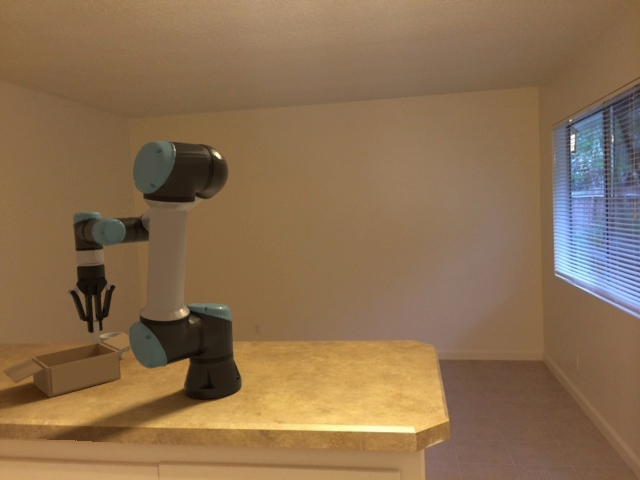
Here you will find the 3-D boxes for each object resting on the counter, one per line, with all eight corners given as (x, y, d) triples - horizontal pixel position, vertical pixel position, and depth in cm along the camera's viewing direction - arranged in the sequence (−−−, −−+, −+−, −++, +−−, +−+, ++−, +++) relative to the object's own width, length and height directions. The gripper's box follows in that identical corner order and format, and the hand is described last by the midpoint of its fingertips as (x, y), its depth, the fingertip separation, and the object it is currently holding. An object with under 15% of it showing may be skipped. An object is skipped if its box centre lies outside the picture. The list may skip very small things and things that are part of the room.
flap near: (42, 368, 131) (15, 382, 127) (43, 369, 132) (15, 383, 127) (28, 357, 142) (2, 370, 138) (28, 359, 142) (3, 371, 138)
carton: (121, 379, 145) (119, 352, 144) (50, 398, 132) (48, 368, 131) (100, 366, 157) (98, 342, 157) (33, 383, 144) (30, 356, 144)
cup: (138, 354, 170) (136, 331, 169) (126, 361, 162) (125, 337, 161) (108, 354, 171) (106, 332, 170) (95, 362, 163) (93, 338, 162)
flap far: (121, 351, 146) (142, 341, 150) (120, 349, 146) (142, 340, 150) (102, 342, 156) (123, 333, 161) (102, 341, 156) (123, 332, 161)
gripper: (108, 261, 154) (113, 335, 155) (63, 265, 145) (68, 344, 146) (117, 262, 148) (122, 340, 150) (70, 267, 139) (76, 349, 141)
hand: (96, 342), depth 148 cm, fingers closed
